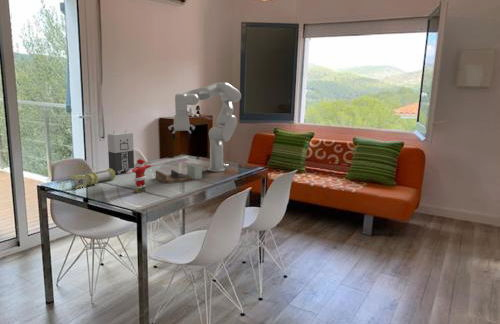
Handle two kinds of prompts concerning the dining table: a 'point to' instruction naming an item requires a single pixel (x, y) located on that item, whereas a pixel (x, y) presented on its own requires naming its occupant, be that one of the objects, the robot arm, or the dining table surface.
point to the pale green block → (194, 171)
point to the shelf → (171, 177)
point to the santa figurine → (140, 175)
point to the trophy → (92, 178)
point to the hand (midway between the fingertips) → (182, 139)
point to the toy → (120, 151)
